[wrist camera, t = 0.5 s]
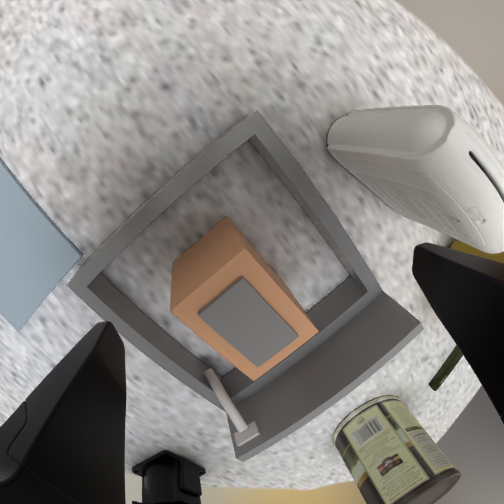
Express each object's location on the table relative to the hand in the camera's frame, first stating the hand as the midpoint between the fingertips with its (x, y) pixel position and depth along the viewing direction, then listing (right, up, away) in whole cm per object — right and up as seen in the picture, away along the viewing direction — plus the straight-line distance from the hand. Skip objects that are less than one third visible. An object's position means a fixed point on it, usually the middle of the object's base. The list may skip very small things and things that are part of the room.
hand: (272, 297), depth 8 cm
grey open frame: (-2, 0, +15) cm, 15 cm away
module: (-2, 0, +15) cm, 15 cm away
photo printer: (+9, +8, +15) cm, 19 cm away
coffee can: (+14, -20, +26) cm, 36 cm away
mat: (-20, +2, +10) cm, 22 cm away
